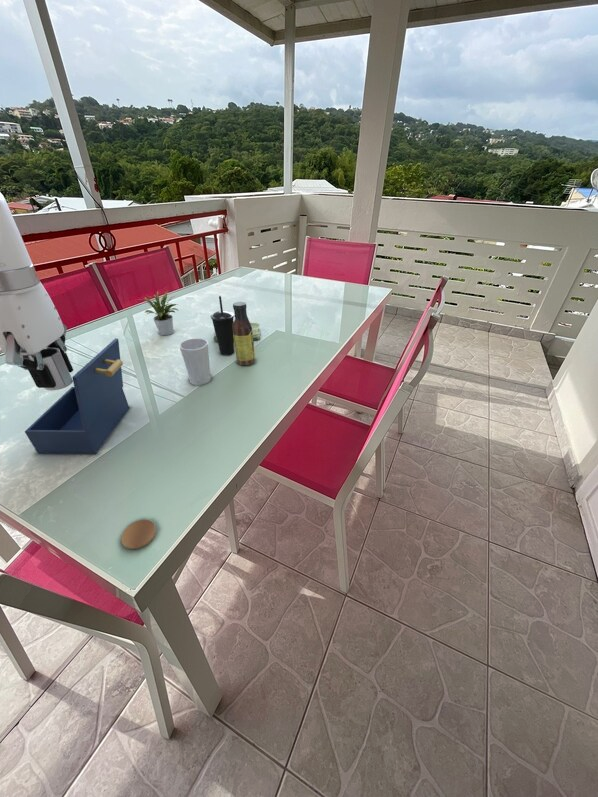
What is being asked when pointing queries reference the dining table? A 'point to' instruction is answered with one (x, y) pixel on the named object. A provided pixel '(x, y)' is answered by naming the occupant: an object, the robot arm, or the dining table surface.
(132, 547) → the coaster
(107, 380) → the lid
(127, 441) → the dining table surface
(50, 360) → the tumbler
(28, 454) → the dining table surface
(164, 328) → the house plant
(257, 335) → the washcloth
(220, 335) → the drinking cup
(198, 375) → the cup
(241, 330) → the sauce bottle
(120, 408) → the chest
